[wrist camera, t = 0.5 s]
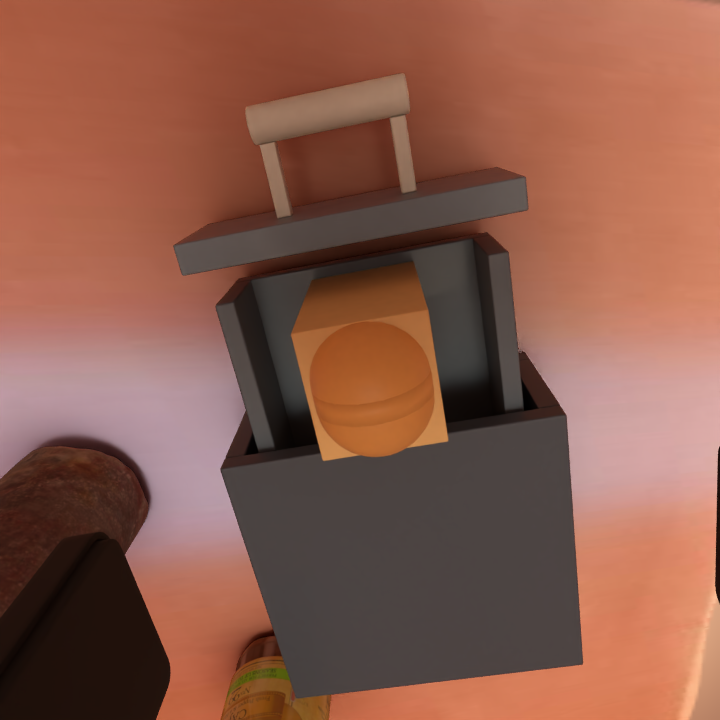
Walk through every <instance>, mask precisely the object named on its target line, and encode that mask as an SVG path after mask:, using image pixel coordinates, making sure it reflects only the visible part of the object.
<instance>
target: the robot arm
mask: <svg viewBox="0 0 720 720" xmlns="http://www.w3.org/2000/svg"><path fill="white" fill-rule="evenodd" d="M715 587H716V594H717V598H718V601H719V603H720V447H719V450H718V478H717V527H716V577H715ZM169 682H170V663H169V660H168V657H167V655H166V652H165V650H164V648H163V645H162V643H161V641H160V638H159V636H158V633H157V631H156V629H155V626H154V624H153V621H152V619H151V617H150V614H149V612H148V610H147V607H146V605H145V602H144V600H143V598H142V595H141V593H140V591H139V588H138V586H137V583H136V581H135V579H134V576H133V574H132V571H131V569H130V567H129V564H128V562H127V560H126V557H125V555H124V552H123V550H122V548H121V546H120V544H119V542H118V541H117V540H115V539H110V538H109V536H108V535H106V534H105V533H104V532H94V533H88V534H81V535H75V536H69V537H66V538H64V539H62V540H61V541H60V542H59V543H58V545H57V546H56V547H55V549H54V550H53V551H52V552H51V554H50V555H49V556H48V558H47V559H46V560H45V561H44V563H43V564H42V565H41V567H40V568H39V569H38V570H37V572H36V573H35V574H34V575H33V577H32V578H31V579H30V581H29V582H28V583H27V584H26V586H25V587H24V588H23V590H22V591H21V592H20V593H19V595H18V596H17V597H16V599H15V600H14V601H13V602H12V604H11V605H10V606H9V607H8V609H7V610H6V611H5V613H4V614H3V615H2V616H1V618H0V720H156V718H157V715H158V712H159V710H160V707H161V704H162V702H163V699H164V697H165V694H166V691H167V689H168V685H169Z"/></svg>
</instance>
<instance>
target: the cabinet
mask: <svg viewBox="0 0 720 720" xmlns="http://www.w3.org/2000/svg"><path fill="white" fill-rule="evenodd" d="M518 354H519V364H520V374H521V384H522V395H523V405H524V411H521V412H515V413H509V414H503V415H496V416H490V417H484V418H478V419H471V420H465V421H459V422H452V423H446V427H447V434H448V441H447V442H441V443H435V444H429V445H422V446H416V447H410V448H406V449H404V450H402V451H400V452H398V453H395V454H392V455H388V456H383V457H367V456H362V455H358V456H352V457H346V458H339V459H333V460H326V461H323V460H322V456H321V452H320V448H319V444H314V445H308V446H302V447H296V448H289V449H283V450H277V451H270V452H264V453H259V452H258V448H257V445H256V442H255V438H254V435H253V431H252V428H251V425H250V421H249V418H248V415H247V411H246V412H245V414H244V417H243V419H242V421H241V424H240V426H239V428H238V430H237V433H236V435H235V437H234V439H233V442H232V444H231V446H230V449H229V451H228V453H227V455H226V458H225V460H224V462H223V465H222V467H221V473H222V476H223V479H224V482H225V485H226V488H227V491H228V494H229V497H230V500H231V503H232V506H233V510H234V513H235V516H236V519H237V522H238V525H239V528H240V531H241V534H242V537H243V540H244V543H245V546H246V549H247V552H248V555H249V558H250V561H251V564H252V567H253V570H254V573H255V576H256V579H257V582H258V585H259V588H260V591H261V594H262V597H263V600H264V603H265V606H266V609H267V612H268V615H269V618H270V621H271V624H272V627H273V631H274V634H275V637H276V640H277V643H278V646H279V649H280V652H281V655H282V658H283V661H284V664H285V667H286V670H287V673H288V676H289V679H290V682H291V685H292V688H293V691H294V694H295V697H296V698H297V699H299V698H307V697H315V696H324V695H332V694H341V693H349V692H357V691H366V690H374V689H382V688H391V687H399V686H408V685H416V684H424V683H433V682H441V681H449V680H458V679H466V678H474V677H483V676H491V675H500V674H508V673H516V672H525V671H533V670H541V669H550V668H558V667H566V666H575V665H582V664H583V654H582V639H581V624H580V609H579V594H578V580H577V565H576V550H575V535H574V520H573V505H572V490H571V475H570V460H569V445H568V430H567V416H566V414H565V412H564V411H563V409H562V408H561V406H560V404H559V403H558V401H557V400H556V398H555V397H554V395H553V394H552V392H551V391H550V389H549V388H548V386H547V385H546V383H545V382H544V380H543V379H542V377H541V376H540V374H539V373H538V371H537V370H536V368H535V367H534V365H533V364H532V362H531V361H530V359H529V358H528V356H527V355H526V353H518Z"/></svg>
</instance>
